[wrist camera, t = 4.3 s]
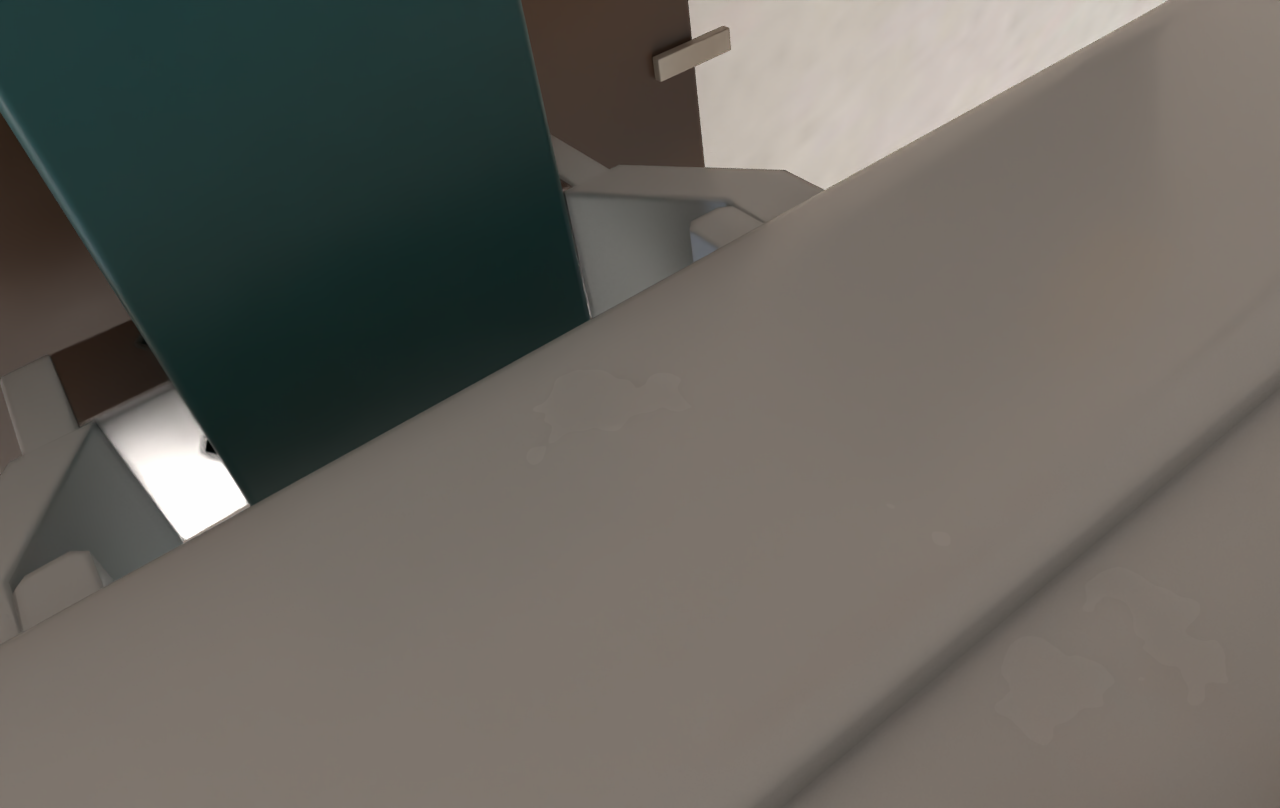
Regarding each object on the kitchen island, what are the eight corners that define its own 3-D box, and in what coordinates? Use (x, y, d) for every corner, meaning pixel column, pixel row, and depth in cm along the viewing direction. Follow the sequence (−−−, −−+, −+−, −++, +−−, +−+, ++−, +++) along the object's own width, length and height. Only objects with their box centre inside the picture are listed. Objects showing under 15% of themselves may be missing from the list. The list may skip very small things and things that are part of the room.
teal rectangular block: (-187, -216, 8) (-156, -128, 5) (224, -311, 9) (480, -295, 6) (304, 572, 16) (452, 825, 12) (494, 461, 17) (675, 661, 13)
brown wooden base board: (-1431, -396, 6) (-1868, -414, 5) (548, -635, 12) (676, -684, 10) (-14, 743, 16) (10, 863, 15) (682, 337, 22) (756, 392, 20)
